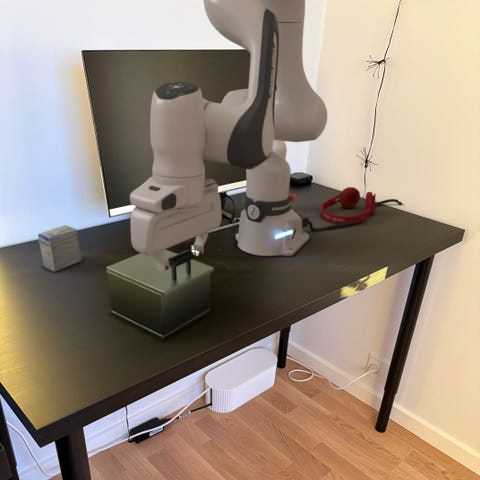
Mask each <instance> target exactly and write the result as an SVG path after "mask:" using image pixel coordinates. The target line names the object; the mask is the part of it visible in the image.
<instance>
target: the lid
mask: <svg viewBox="0 0 480 480" xmlns="http://www.w3.org/2000/svg"><path fill="white" fill-rule="evenodd" d="M164 251H165V254H164V255H162V256H163V258H164V259H165V260H168V261H169V269H168V270H166V271H164V272H161V271H159V270H157V267H156V261H155V259H154V258H153V256H152V255H149V256H148V255H145V254H142V253H140V252H139V253H138V254H135V255H133V256H130V257H128V258H126V259H123V260H121V261H118V262H116V263H113V264H111V265H108V266H106V272H107V271H109V272H111V273H113V274H115V275H118V276H120V277H122V278H124V279H127V280H129V281H131V282H133V283H136V284H138V285H140V286H143V287H145V288H147V289H149V290H152V291H154V292H156V293H158V294H161V295H163V296H166V295H168V294H170V293H172V292H174V291H176V290H178V289H180V288H182V287H184V286H186V285H188V284H190V283H192V282H193V281H195V280H197V279H199V278H201V277H203V276H205V275H207V274H209V273H210V274H211V273H213V272H214V271H215V267H213V266H211V265H208V264H205V263H203V262H200V261H197V260H194V258H195V255H194V254H193V252H192V249H186V250H184V251H182V252H179V253H177V252H173V251H170V250H168V249H164Z"/></svg>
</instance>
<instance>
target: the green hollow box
mask: <svg viewBox="0 0 480 480" xmlns="http://www.w3.org/2000/svg"><path fill="white" fill-rule="evenodd" d="M106 277H107V286H108V293H109V295H108V296H109V303H110V311H111V316H114V317H115V318H118V319H120V320H122V321H123V322H126V323H127V324H130V325H132V326H133V327H136V328H137V329H140V330H142V331H143V332H146V333H147V334H149V335H151V336H153V337H155V338H158V339H160V340H161V341H165V340H167V339H169V338H170V337H172V336H173V335H175V334H177V333H179V332H181V331H182V330H183V329H185V328H187V327H189V326H190V325H192V324H193V323H195V322H197V321H199V320H200V319H202V318H203V317H205V316H207V315H208V314H210V313H211V273H209V274H207V275H205V276H203V277H201V278H199V279H197V280H195V281H193V282H192V283H190V284H188V285H186V286H184V287H182V288H180V289H178V290H176V291H174V292H172V293H170V294H168V295H166V296H163V295H161V294H158V293H156V292H154V291H152V290H149V289H147V288H145V287H143V286H140V285H138V284H136V283H133V282H131V281H129V280H127V279H124V278H122V277H120V276H118V275H115V274H113V273H111V272H109V271H107V270H106Z"/></svg>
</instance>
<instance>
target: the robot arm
mask: <svg viewBox="0 0 480 480" xmlns="http://www.w3.org/2000/svg"><path fill="white" fill-rule="evenodd" d="M203 7H204V11H205V15H206V17H207V19H208V20H209V22H210V24H211V25H212V26H213V28H214V29H215V30H216V31H217V32H218V33H219V34H220V35H221V36H223V37H224V38H225V39H226V40H227V41H229V42H232V43H233V44H235V45H237V46H239V47H240V48H242V49H244V50H245V51H247V52H248V53H249V54H250V62H249V65H250V66H249V77H248V88H241V89H235V90H230V91H228V92H227V93H226V95H225V96H224V97H223V99H222V101H221V102H220V103H219V102H214V101H209V100H207V99H205V98H203V95H202V94H203V93H202V89H201V87H200V86H199V85H198V84H196V83H194V82H189V81H175V82H167V83H163V84H161V85H159V86H158V87H156V88H155V89H154V91H153V93H152V97H151V103H150V116H149V117H150V119H149V120H150V122H149V123H150V124H149V129H150V130H149V131H150V133H149V134H150V146H151V149H152V152H153V164H152V169H151V171H152V176H150V177H149V178H148V179H147V180H146V181H145V182H144V183H142V184H141V185H140V186H138V187H137V188H135V189H134V190H133V191H132V192H130V194H129V201H130V204H131V205H133V206H134V208H133V209H132V211H131V213H130V221H129V222H130V241H131V246H132V248H133V249H134V250H135V251H136V252H137V253H139V254H140V253H142V254H145V255H148V256H149V255H152V256H153V258H154V259H155V261H156V267H157V270H159V271H161V272H164V271H166V270H168V269H169V261H168V260H165V259H164V258H163V256H162V255H164V254H165V251H164V249H165V250H168V249H169V248H171V247H174V246H176V245H179V244H181V243H184V242H186V241H189V240H192V239H194V238H195V241H194V244H192V245H191V251H192V252H193V254H194V256H196V257H198V256H200V255H202V254H204V251H205V250H204V248H205V247H204V246H205V244H206V242H207V240H208V238H209V232H210V231H213V230H216V229H217V228H219V227H220V226H221V224H222V221H223V214H222V213H223V210H221V199H220V195H219V193H218V184H219V183H217V182H216V180H214V179H213V178H208V179H206V167H205V164H204V160H206V161H208V162H216V163H220V164H221V163H222V164H228V165H230V166H234V167H237V168H240V169H241V168H242V169H245V173H246V174H245V176H246V182H245V183H246V184H245V185H246V186H245V187H246V188H245V193H244V197H243V210H242V211H241V213H240V218H239V226H238V233H236V234H235V236H234V238H235V240H236V241H237V247H238V248H239V249H240V250H241V251H242V252H245V253H247V254H250V255H254V256H262V257H274V256H285V257H287V256H289V257H290V256H293V255H295V254H296V253H297V252H298V251H299V250H300V248H301V247H302V246H304V245H305V243H307V242H308V241H309V239H310V235H309V234H308V233H307V232H305V231H304V230H303V229H304V228H308V226H309V230H311V231H312V232H323V231H328V230H331V229H337V228H343V227H349V226H353V225H356V224H357V223H355V222H348V223H343V224H338V223H335V224H332V225H327V226H324V227H319V228H316V227H314V226H313V222H312V221H311V220H310V218H309V216H306V215H303V214H301V213H299V212H296V211H294V210H293V209H292V204H291V203H295V202H296V201H297V197H298V196H297V194H293V193H290V183H291V182H290V181H291V172H292V171H291V166H290V164H289V162H288V161H287V159H286V160H285V159H284V158H283V157H281V156H280V155H278V154H277V153H275V152H274V151H273V150H272V149H273V143H274V140H277V141H284V142H291V143H303V142H310V141H311V142H312V141H316V140H317V139H318V138H319V137H321V135H322V134H323V132H324V131H325V129H326V126H327V122H328V110H327V106H326V104H325V101H324V100H323V99H322V97H321V96H320V95H318V93H316V91H315V90H314V89H313V87H312V86H311V84H310V82H309V79H308V78H307V75H306V72H305V69H304V60H303V58H304V57H303V46H304V45H303V44H304V30H305V29H304V28H305V18H306V17H305V16H306V0H203ZM398 200H399V199H396V198H389V199H384V200H380V201H377V202H376V201H375V207H376V206H380V205H384V204H387V203H396V204H398V205H399V206H402V205H403V202H402V201H400V200H399V201H400V202H399V201H398Z"/></svg>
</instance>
